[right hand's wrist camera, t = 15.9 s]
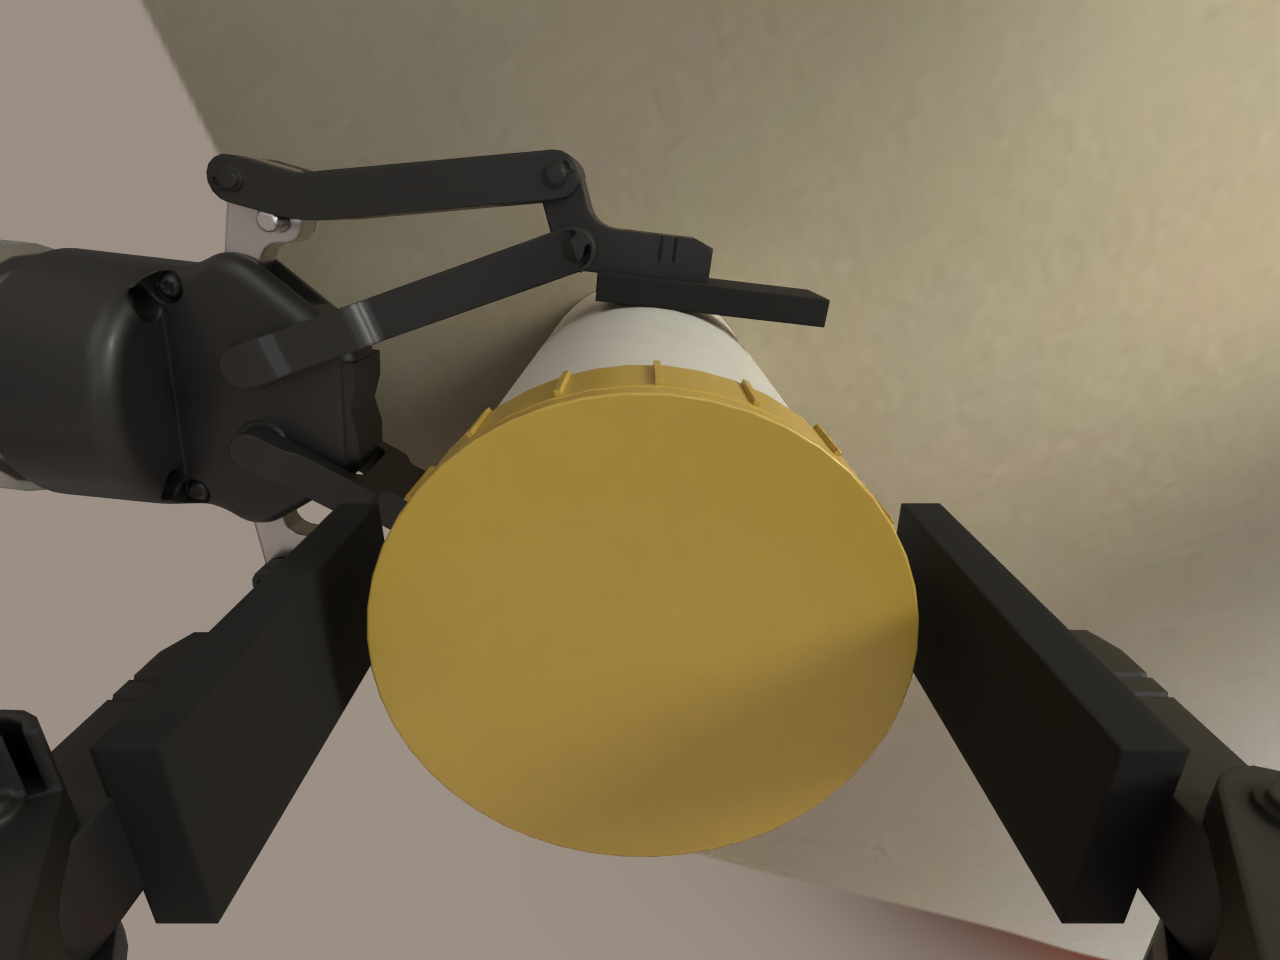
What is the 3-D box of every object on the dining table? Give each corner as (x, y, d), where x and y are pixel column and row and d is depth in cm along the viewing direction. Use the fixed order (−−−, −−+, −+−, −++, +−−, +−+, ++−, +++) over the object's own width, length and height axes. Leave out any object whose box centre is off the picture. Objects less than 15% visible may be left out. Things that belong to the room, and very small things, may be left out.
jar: (714, 496, 30) (806, 860, 13) (526, 457, 29) (371, 788, 12) (768, 306, 27) (977, 464, 10) (559, 258, 26) (414, 343, 9)
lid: (799, 812, 15) (821, 894, 13) (382, 741, 14) (344, 817, 12) (960, 424, 11) (1017, 463, 10) (425, 307, 11) (383, 326, 9)
